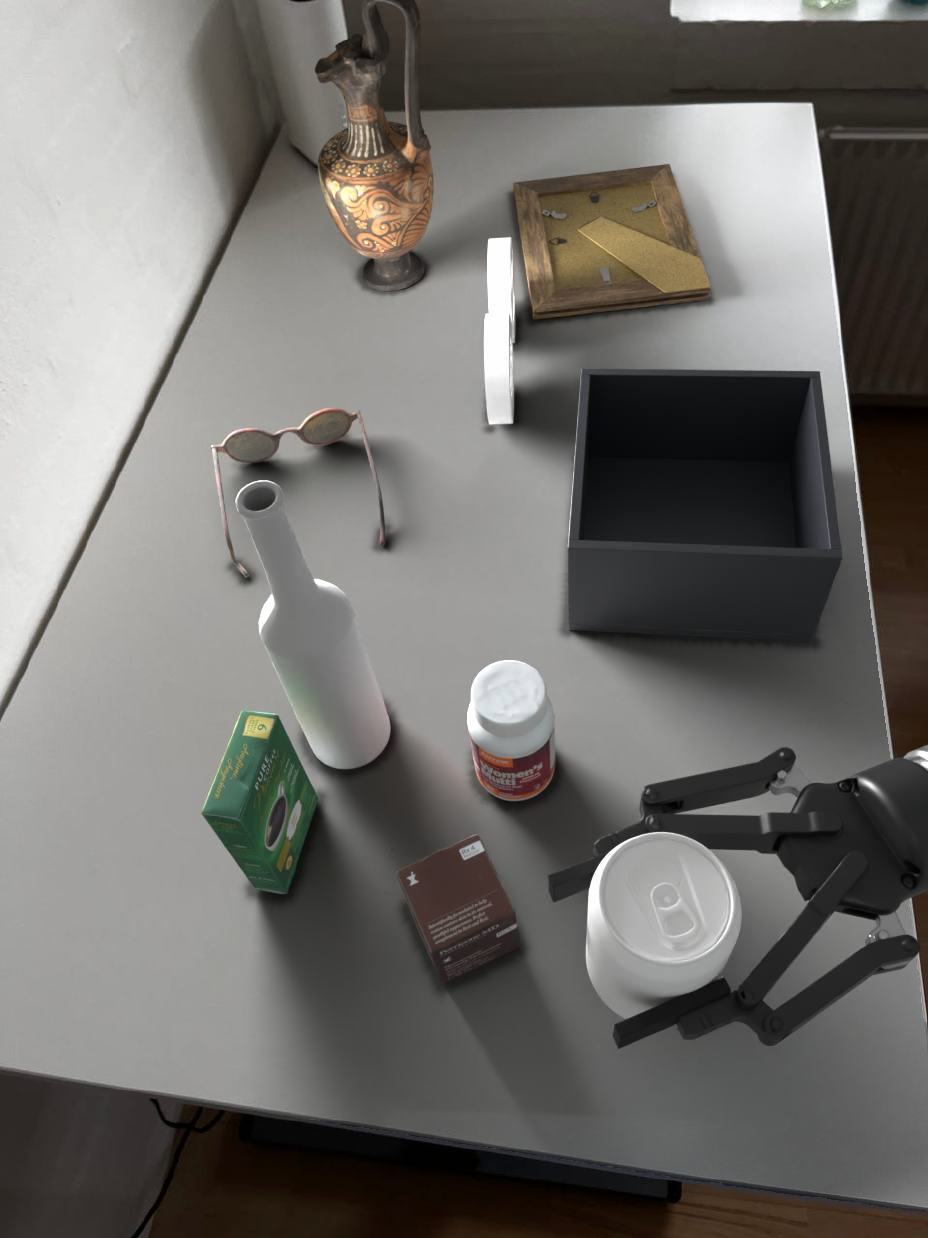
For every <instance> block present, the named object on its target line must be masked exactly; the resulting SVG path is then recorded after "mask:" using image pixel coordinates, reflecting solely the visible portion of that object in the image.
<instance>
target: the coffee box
mask: <svg viewBox="0 0 928 1238" xmlns="http://www.w3.org/2000/svg"><path fill="white" fill-rule="evenodd" d="M318 801H319V797H318V795H317V792H316V790H315V787H314V785H313V784H312V782H311V780H310V779H309V776H308V774H307V772H306V770H305V768H304V766H303V764H302V761H301V759H300V757H299V756H298V753H297V751H296V749H295V747H294V745H293V743H292V741H291V739H290V735H288V732H287V731H286V728H285V726H284V724H283V722H282V720H281V718H280V716H279V714H278V713H274V712H265V711H254V710H252V711H251V710H244V709H242V710H241V711H240V714H239V716H238V719H237V721H236V723H235V726H234V729H233V731H232V734H231V737H230V740H229V742H228V744H227V746H226V749H225V752H224V754H223V756H222V759H221V761H220V765H219V767H218V769H217V772H216V774H215V777H214V779H213V781H212V784H211V787H210V789H209V792H208V794H207V797H206V800H205V802H204V805H203V807H202V809H201V812H200V813H201V815H202V817H203V818H204V819H205V821H206V822H207V824H208V825H209V827H210V828H211V830H213V832H214V833H215V835H216V836H217V838H218V839H219V841H220V842H221V843H222V845H223V846H224V848H225V849H226V850H227V852H228V853H229V854H230V856H231V857H232V858H233V860H234V861H235V863H236V865H237V866H238V867H239V869H240V870H241V872H242V873H243V875H244V876H245V877H246V878H247V880H248V881H249V882H250V884H251V885H252V887H253V888H254V889H255V890H260V891H264V892H268V893H269V892H270V893H274V894H280V895H284V894H285V895H287V894H288V893H289V890H290V886H291V884H292V881H293V878H294V875H295V873H296V870H297V866H298V862H299V859H300V856H301V853H302V850H303V846H304V844H305V840H306V837H307V834H308V831H309V828H310V825H311V822H312V819H313V817H314V813H315V810H316V807H317V804H318Z"/></svg>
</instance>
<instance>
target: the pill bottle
mask: <svg viewBox="0 0 928 1238" xmlns="http://www.w3.org/2000/svg"><path fill="white" fill-rule="evenodd" d="M466 717H467V718H466V721H467V722H466V723H467V729H468V734H469V739H470V746H471V753H472V758H473V765H474V769H475V774H476V777H477V779H478V781H479V783H480V784H481V786H482V787H483V789H485V790H486V791H487V792H488V793H489V794H490V795H493V797H496V798H498V799H500V800H503V801H509V802H519V801H521V802H522V801H526V800H530V799H532V798H534V797H536V796H538V795H539V794H540V793H542V792H543V791H544V790H545V789H546V788H547V787H548V786H549V784H550V782H551V781H552V779H553V776H554V773H555V768H556V732H555V731H556V730H555V718H556V717H555V711H554V707H553V703H552V701H551V700H550V698H549V696H548V694H547V685H546V683H545V680H544V678H543V676H542V675H541V673H540V672H539V671H538V670H537V669H536V668H535V667H533V666H531V665H530V664H528V663H526V662H523V661H520V660H513V659H505V660H500V661H496V662H494V663H491V664H489V665H487V666H486V667H485V668H483V669H482V670H481V671H480V672H479V673H478V674H477V675H476V677H475V678H474V680H473V682H472V685H471V689H470V703H469V706H468V709H467V716H466Z"/></svg>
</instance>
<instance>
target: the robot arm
mask: <svg viewBox="0 0 928 1238" xmlns="http://www.w3.org/2000/svg"><path fill="white" fill-rule="evenodd" d="M796 760H797V754H796V753H795V751H794V750H793V749H792V748H790V747H787V746H782V747H780V748H777V749H776V750H774V751H773V752H771V753H770V754H768V755H767V756H765V757H763V758H762V759H760V760H759V761H755V762H750V763H746V764H740V765H736V766H731V767H728V768H721V769H717V770H712V771H707V772H702V773H698V774H694V775H689V776H683V777H679V778H674V779H670V780H669V779H668V780H664V781H659V782H655V783H649V784H647V785H645V786H644V787H643V788H642V789H641V795H640V801H639V809H638V811H639V813H640V820H639V821H638V822H636V823H633V824H631V825H628V826H626V827H624V828H622V829H618V830H616V831H613V832H611V833H609V834H606V835H603V836H600V837H599V838H598V839H597V840H596V841H595V842H594V843H593V851H592V852H593V855H594V856H592V857H589V858H587V859H585V860H582V861H580V862H578V863H575V864H572V865H570V866H567V867H565V868H563V869H560V870H558V871H555V872H553V873H551V874H547V885H548V887H547V888H548V893H549V895H550V898H551V900H552V903H556V902H559V901H561V900H565V899H567V898H569V897H572V896H573V895H574V896H575V895H576V894H579V893H581V892H584V891H586V890H590V885H591V881H592V878H593V876H594V874H595V871H596V870H597V868H598V866H599V864H600V863H601V862H602V860H603V859H604V858H605V857H606V856H607V854H608V853H609V852H611V851H612V850H613V849H614V848H615V847H617V846H618V845H620V844H621V843H623V842H625V841H627V840H629V839H631V838H634V837H637V836H640V835H643V834H648V833H655V832H668V833H675V834H679V835H683V836H686V837H688V838H691V839H693V840H695V841H697V842H699V843H700V844H702V845H703V846H705V847H706V848H708V849H709V850H712V851H713V850H717V851H718V850H719V851H720V850H721V851H756V852H758V853H760V854H763V855H776V856H777V857H778V859H779V861H780V862H781V864H782V866H783V867H784V868H785V869H786V870H787V871H788V872H789V873H790V874H791V875H792V876H793V879H794V882H795V884H796V887H797V891H798V892H799V895H801V897H802V899H803V901H804V902H807V901H808V902H807V903H806V905H805V906H804V908H803V909H802V910H801V911H800V912H799V914H798V915H797V916H796V917H795V919H794V920H793V921H792V922H791V923H790V925H789V926H788V927H787V928H786V929H785V931H783V933H782V934H781V936H780V937H779V938H778V940H776V942H775V943H774V944H773V945H772V947H770V949H769V950H768V952H766V954H765V955H764V957H762V958H761V960H760V961H759V962H758V963H757V965H756V966H755V967H754V969H752V971H750V973H749V975H748V976H747V977H746V978H745V980H743V982H742V983H741V984H739V986H738V988H736V989H735V990H733V991H732V989H731V986H730V985H729V983H728V981H727V979H726V977H725V976H723V977H720V978H719V980H716V981H714V982H712V983H709V984H707V985H705V986H703V987H701V988H699V989H697V990H695V991H692V992H689V993H686V994H684V995H681V996H679V997H677V998H674V999H672V1000H670V1001H667V1002H665V1003H663V1004H660V1005H658V1006H656V1007H653V1008H651V1009H649V1010H646V1011H644V1012H642V1013H639V1014H637V1015H635V1016H632V1017H630V1018H628V1019H624V1020H621V1021H618V1022H617V1023H614V1024H613V1029H612V1035H611V1036H612V1038H613V1041H614V1043H615V1044H616V1047H617V1049H618V1050H620V1049H622V1048H625V1047H627V1046H630V1045H632V1044H635V1043H636V1042H639V1041H641V1040H643V1039H646V1038H648V1037H650V1036H652V1035H655V1034H657V1033H660V1032H662V1031H664V1030H666V1029H669V1028H671V1027H673V1026H676V1028H677V1030H678V1032H679V1034H680V1035H681V1038H682V1040H683V1041H694V1040H696V1039H699V1038H701V1037H703V1036H706V1035H708V1034H710V1033H713V1032H715V1031H717V1030H720V1029H722V1028H724V1027H726V1026H729V1025H731V1024H734V1023H741V1024H744V1025H745V1026H746V1027H748V1028H749V1029H750V1030H751V1031H752V1032H754V1033H755V1035H756V1036H757V1039H758V1040H759V1042H760V1043H761V1044H762V1045H764V1046H766V1047H775V1046H777V1045H778V1044H780V1043H781V1042H782V1041H784V1040H785V1039H787V1038H788V1037H789V1036H791V1035H792V1034H793V1033H794V1032H796V1031H797V1030H799V1029H801V1028H802V1027H803V1026H804V1025H806V1024H807V1023H809V1022H810V1021H811V1020H813V1019H814V1018H815V1017H817V1016H819V1015H820V1014H821V1013H823V1012H824V1011H826V1010H827V1009H828V1008H830V1007H831V1006H833V1004H835V1003H837V1002H838V1001H839V1000H841V999H842V998H843V997H845V996H846V995H847V994H849V993H850V992H852V991H853V990H854V989H856V988H857V987H858V986H860V985H862V983H864V982H866V981H867V980H868V979H869V978H871V977H872V976H877V975H882V974H886V973H890V972H895V971H899V970H902V969H904V968H906V967H907V966H908V965H909V963H911V962H912V961H913V960H914V959H915V958H916V957H917V956H918V954H919V953H920V951H921V945H920V942H919V941H918V940H917V938H915V936H913V935H910V934H907V933H906V930H905V928H904V926H903V924H902V922H901V920H900V917H899V915H898V913H897V910H898V909H900V907H901V905H902V903H904V902H905V901H907V900H909V899H912V898H914V897H916V896H919V895H921V894H924V893H925V892H926V893H927V892H928V744H926V745H923V746H921V747H919V748H916V749H914V750H911V751H907V753H906V754H905V755H904V756H903V757H893V758H891V759H889V760H886V761H884V762H881V763H878V764H877V765H874V766H871V767H869V768H867V769H864V770H862V771H859V772H857V773H855V774H852V775H849V776H847V777H844V778H843V779H840V780H838V781H836V782H830V783H829V782H828V783H826V782H812V781H811V780H810V779H809V778H808V776H807V775H806V774H805V773H804V772H803V771H802V770H801V769H800V768H799V766H798V765H797V764H796V763H795V762H796ZM768 792H770V793H771V795H774V796H778V795H779V796H780V795H784V794H790V795H792V796H794V797H796V800H795V801H794V804H793V806H792V807H791V810H790V811H789V812H775V811H773V812H772V811H771V812H765V813H763V814H761V815H745V814H744V815H743V814H693V813H690V814H689V813H688V814H687V813H685V812H690V811H695V810H700V809H704V808H709V807H714V806H718V805H724V804H729V803H734V802H738V801H743V800H747V799H752V798H755V797H759V796H761V795H764V794H766V793H768ZM835 912H836V913H839V914H844V915H848V916H853V917H857V918H862V919H867V920H871V921H874V922H875V928H874V929H872V930H871V931H870V933H869V934H868V935H867V936H866V938H865V941H864V942H865V943H864V944H865V945H864V946H863V947H861V948H860V949H859V950H857V951H856V952H854V953H853V954H852V955H850V956H848V957H847V958H846V959H844V960H843V961H841V962H840V963H839V964H838V965H835V966H834V967H833V968H832V969H830V970H829V971H827V972H826V973H825V974H823V975H822V976H821V977H818V978H817V979H816V980H814V981H813V982H812V983H811V984H809V985H808V986H806V987H805V988H803V989H801V990H800V991H799V992H798V993H796V994H795V995H794V996H791V998H789V999H788V1000H786V1001H785V1002H784V1003H782V1004H780V1006H778V1007H777V1008H776V1009H774V1010H773V1008H771V1007H770V1006H769V1004H768V1003H766V1002H765V998H766V997H767V995H768V994H769V993H770V992H771V991H772V990H773V988H774V987H775V985H776V984H777V983H778V982H779V980H781V978H782V977H783V975H784V974H785V973H786V972H787V971H788V969H789V968H790V967H791V966H792V965H793V963H794V962H795V961H796V960H797V958H798V957H799V955H800V954H801V953H802V952H803V951H804V949H805V948H806V947H807V946H808V945H809V943H810V942H811V941H812V940H813V938H814V937H815V936H816V935H817V934H818V933H819V931H820V930H821V929H822V928H823V927H824V925H825V924H826V923H827V922H828V920H829V919H830V918H831V917H832V915H833V914H835Z"/></svg>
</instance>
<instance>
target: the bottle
mask: <svg viewBox="0 0 928 1238" xmlns="http://www.w3.org/2000/svg"><path fill="white" fill-rule="evenodd" d="M284 500H285V497H284V491H283V489H282V488H281V486H280V485H279V484H277V483H276V482H273V481H270V480H257V481H252V482H250V483H249V484H246V485H245V486H244V487H242V488H241V489H240V491H239V492H238V493H237V495H236V498H235V509H236V510H237V512H238V513H239V514H240V515H241V516H242V518H243V521H244V523H245V525H246V528H247V530H248V532H249V536H250V537H251V540H252V543H253V545H254V549H255V550H256V552H257V555H258V557H259V560H260V562H261V565H262V567H263V571H264V573H265V577H266V580H267V584H268V586H269V589H270V593H271V594H270V596H269V598H268V599H267V601H266V602H265V603H264V605H263V607H262V609H261V613H260V617H259V620H258V631H259V632H258V633H259V638H260V639H261V642H262V643H263V646H264V648H265V650H266V653H267V654H268V657H269V659H270V661H271V663H272V666H273V668H274V670H275V673H276V675H277V677H278V679H279V681H280V683H281V686H282V688H283V691H284V692H285V695H286V697H287V699H288V702H289V704H290V705H291V708H292V710H293V713H294V714H295V716H296V719H297V721H298V723H299V726H300V728H301V730H302V732H303V734H304V736H305V739H306V741H307V742H308V744H309V746H310V748H311V750H312V753H313V755H314V756H315V758H317V759H318V760H319V761H320V762H322V763H323V764H324V765H326V766H327V767H328V766H329V767H330V768H333V769H334V768H335V769H338V770H352V769H353V770H354V769H356V768H361V767H363V766H366V765H368V764H369V763H371V762H372V761H374V760H375V759H376V758H377V757H378V756H380V755H381V753H382V752H383V751H384V750H385V748H386V747H387V744H388V742H389V740H390V736H391V731H392V729H391V728H392V727H391V721H390V716H389V714H388V711H387V708H386V704H385V701H384V697H383V694H382V692H381V689H380V686H379V682H378V680H377V677H376V673H375V671H374V667H373V665H372V661H371V658H370V655H369V652H368V650H367V646H366V644H365V641H364V638H363V635H362V632H361V628H360V626H359V622H358V620H357V617H356V614H355V611H354V608H353V605H352V603H351V601H350V600H349V598H348V595H346V593H345V592H344V591H343V590H341V589H340V588H339V587H338V586H336V585H335V584H333V583H331V582H328V581H325V580H322V579H319V578H314V577H313V574H312V572H311V570H310V568H309V566H308V563H307V562H306V560H305V557H304V555H303V553H302V551H301V548H300V545H299V542H298V540H297V537H296V535H295V532H294V529H293V526H292V524H291V521H290V519H289V516H288V514H287V511H286V509H285V506H284V503H283V502H284Z"/></svg>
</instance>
